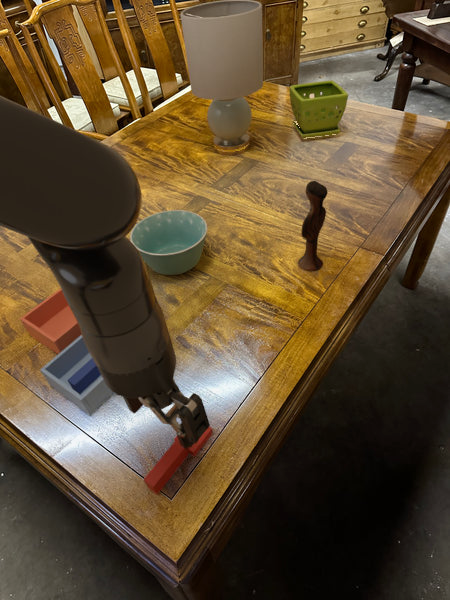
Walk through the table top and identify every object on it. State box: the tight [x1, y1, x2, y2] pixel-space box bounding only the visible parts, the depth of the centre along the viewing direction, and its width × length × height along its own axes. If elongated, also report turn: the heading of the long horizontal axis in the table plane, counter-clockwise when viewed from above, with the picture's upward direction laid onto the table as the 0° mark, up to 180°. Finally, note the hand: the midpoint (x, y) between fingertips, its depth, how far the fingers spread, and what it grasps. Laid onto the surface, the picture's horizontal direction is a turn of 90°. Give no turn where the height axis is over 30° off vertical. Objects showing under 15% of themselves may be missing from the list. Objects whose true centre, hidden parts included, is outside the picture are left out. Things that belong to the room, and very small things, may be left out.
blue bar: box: [68, 358, 101, 394], centre depth 70 cm, size 11×4×3 cm, turn 144°
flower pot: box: [289, 80, 349, 141], centre depth 125 cm, size 14×14×13 cm
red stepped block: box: [143, 426, 214, 496], centre depth 58 cm, size 11×4×3 cm, turn 144°
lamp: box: [180, 0, 264, 156], centre depth 115 cm, size 20×20×35 cm
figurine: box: [297, 180, 329, 272], centre depth 80 cm, size 7×5×18 cm
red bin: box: [19, 287, 82, 355], centre depth 78 cm, size 15×10×4 cm
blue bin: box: [39, 335, 115, 417], centre depth 70 cm, size 15×10×4 cm
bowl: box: [129, 209, 208, 276], centre depth 87 cm, size 16×16×8 cm
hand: (163, 423), depth 51 cm, fingers open, 8 cm apart
